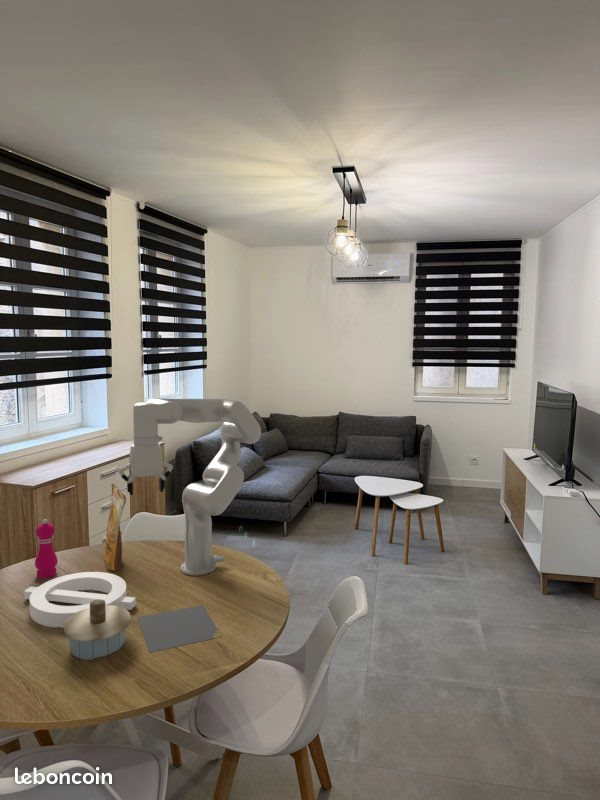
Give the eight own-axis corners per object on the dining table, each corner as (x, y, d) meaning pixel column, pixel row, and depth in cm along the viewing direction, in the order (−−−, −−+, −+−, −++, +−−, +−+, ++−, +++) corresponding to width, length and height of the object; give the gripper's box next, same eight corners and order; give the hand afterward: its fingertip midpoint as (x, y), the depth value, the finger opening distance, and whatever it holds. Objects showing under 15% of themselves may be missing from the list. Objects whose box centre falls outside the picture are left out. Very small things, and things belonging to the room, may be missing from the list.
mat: (202, 606, 173) (202, 604, 173) (221, 638, 155) (221, 636, 155) (137, 618, 165) (137, 617, 165) (149, 654, 147) (149, 652, 147)
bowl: (120, 627, 160) (120, 607, 159) (127, 652, 147) (127, 631, 147) (69, 637, 154) (68, 617, 153) (72, 664, 142) (71, 642, 141)
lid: (125, 604, 161) (125, 584, 161) (135, 632, 146) (135, 611, 145) (62, 615, 154) (61, 595, 153) (65, 646, 139) (65, 624, 138)
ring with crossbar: (22, 599, 176) (21, 584, 175) (110, 578, 192) (110, 565, 192) (40, 639, 153) (40, 622, 153) (139, 611, 170) (138, 597, 169)
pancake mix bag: (121, 551, 215) (120, 481, 211) (127, 571, 197) (126, 495, 194) (103, 554, 212) (101, 483, 209) (107, 574, 195) (106, 496, 191)
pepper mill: (61, 570, 196) (60, 516, 194) (50, 579, 189) (49, 523, 187) (42, 569, 197) (41, 515, 195) (30, 578, 190) (29, 522, 188)
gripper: (170, 437, 185) (170, 487, 187) (116, 440, 177) (117, 492, 179) (175, 441, 178) (175, 493, 180) (119, 444, 170) (120, 498, 173)
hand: (146, 492), depth 180 cm, fingers open, 9 cm apart
